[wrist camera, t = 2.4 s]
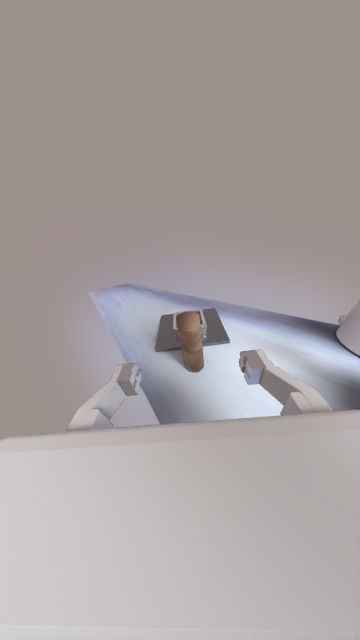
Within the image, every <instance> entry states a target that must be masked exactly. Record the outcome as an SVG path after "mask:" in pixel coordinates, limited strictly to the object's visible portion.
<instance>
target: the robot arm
mask: <svg viewBox="0 0 360 640" xmlns="http://www.w3.org/2000/svg"><path fill="white" fill-rule="evenodd" d="M339 324H340V327H339V328H338V329H337V331H336V335H337V338H338V339H339V341H340V342H341V343H342V344H343V345H344V346H346V347H347V348H348V349H349V350H351V351H352V352H354V353H356V354H357V355H359V356H360V299H359V301H358V302H357V303H356V304H355V306H354V307H353V308H352V310H351V311H350V312H349V314H348V315H347V316H341V317H340V319H339ZM240 357H241V358H240V359H239V366H240V369H241V371H242V372H243V373H244V378H245V380H246V382H247V384H248V385H251V384H260V385H261V386H262V387H263V388H264V389H265V390H267V391H268V392H269V393H270V394H271V395H272V396H273V397H275V398H276V399H277V400H278V401H279V402H280V403H282V404H283V405H284V407H283V409H282V411H281V413H280V414H281V416H268V417H254V418H241V419H228V420H214V421H201V422H187V423H174V424H161V425H147V426H135V427H122V428H113V424H112V423H111V422H110V421H109V419H110V418H111V416H112V415H113V414H114V413H115V411H116V410H117V409H118V407H119V406H120V405H121V403H122V402H123V401H124V400H125V398H126V397H127V396H129V395H137V394H138V390H139V383H140V381H141V378H142V373H141V370H140V369H139V368H138V366H139V365H138V363H128V364H118V365H117V366H116V369H115V371H114V373H113V375H112V377H111V379H110V382H109V383H107V384H106V385H105V386H104V387H102V388H101V389H100V390H99V391H98V392H97V393H96V394H95V395H93V396H92V397H91V398H90V399H89V400H88V401H87V402H86V403H85V404H84V405H82V406H81V407H80V408H79V409H78V410H77V412H76V414H75V415H74V417H73V419H72V421H71V423H70V424H69V426H68V428H67V430H66V431H65V432H56V433H55V432H54V433H41V434H28V435H14V436H8V437H5V438H3V439H1V440H0V640H360V410H348V411H334V410H333V408H332V407H331V406H330V405H329V404H328V403H327V401H326V400H325V399H324V398H323V397H322V396H321V395H320V393H319V392H318V391H317V390H316V389H314V388H313V387H311V386H309V385H307V384H306V383H304V382H302V381H301V380H299V379H297V378H295V377H294V376H292V375H290V374H289V373H287V372H285V371H283V370H282V369H280V368H278V367H274V365H273V364H272V362H271V361H270V360H269V358H268V357H267V355H266V354H265V353H264V351H263V350H262V349H260V350H250V351H242V352H240Z"/></svg>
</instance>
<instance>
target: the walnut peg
mask: <svg viewBox="0 0 360 640" xmlns="http://www.w3.org/2000/svg"><path fill="white" fill-rule="evenodd" d="M176 323H177V328H178V333H179V338H180V343H181V348H182V353H183V357H184V362H185V367H186V369H187V370H188V371H190V372H198V371H200V370H201V369H202V368H203V366H204V360H203V349H202V338H201V327H200V316H199V314H198V313H196V312H193V311H187V312H183V313H180V314H179V315H178V316H177V317H176Z"/></svg>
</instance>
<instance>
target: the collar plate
mask: <svg viewBox="0 0 360 640" xmlns="http://www.w3.org/2000/svg"><path fill="white" fill-rule="evenodd" d="M191 311H193V312H196V313H198V314H199V316H200V327H201V338H202V346H209V345H217V344H225V343H230V340H229V338H228V335H227V333H226V331H225V329H224V327H223V325H222V323H221V320H220V318H219V316H218V314H217V312H216V310H215V308H212V309H205V310H199V309H198V310H191ZM184 312H187V311H184ZM180 313H183V312H176V313H174V314H169V315H162V317H161V322H160V328H159V333H158V339H157V344H156V352H159V351H167V350H176V349H182V348H181V343H180V338H179V333H178V328H177V323H176V317H177V316H178V315H179V314H180Z"/></svg>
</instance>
